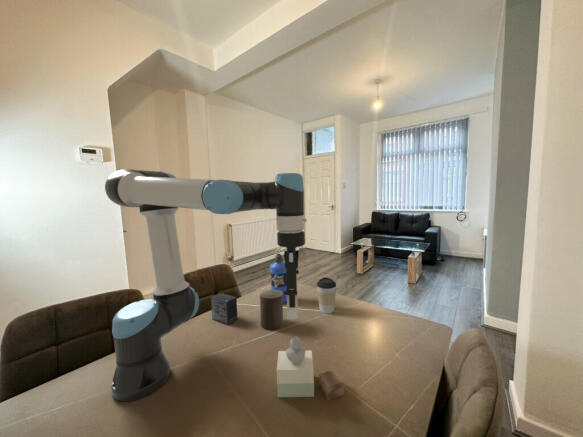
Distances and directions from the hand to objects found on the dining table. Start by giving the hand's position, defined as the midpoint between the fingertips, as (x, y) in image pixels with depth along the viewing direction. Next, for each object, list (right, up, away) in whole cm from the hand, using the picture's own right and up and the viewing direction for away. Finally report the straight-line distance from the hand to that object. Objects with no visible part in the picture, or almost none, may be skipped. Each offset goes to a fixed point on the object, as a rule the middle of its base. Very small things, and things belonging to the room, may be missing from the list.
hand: (292, 305), depth 67 cm
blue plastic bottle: (-6, -19, +59) cm, 62 cm away
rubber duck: (+1, -16, +2) cm, 16 cm away
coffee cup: (+17, -19, +47) cm, 53 cm away
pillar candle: (-9, -21, +36) cm, 43 cm away
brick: (+11, -24, 0) cm, 26 cm away
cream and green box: (+1, -24, +2) cm, 24 cm away
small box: (-31, -22, +42) cm, 56 cm away
